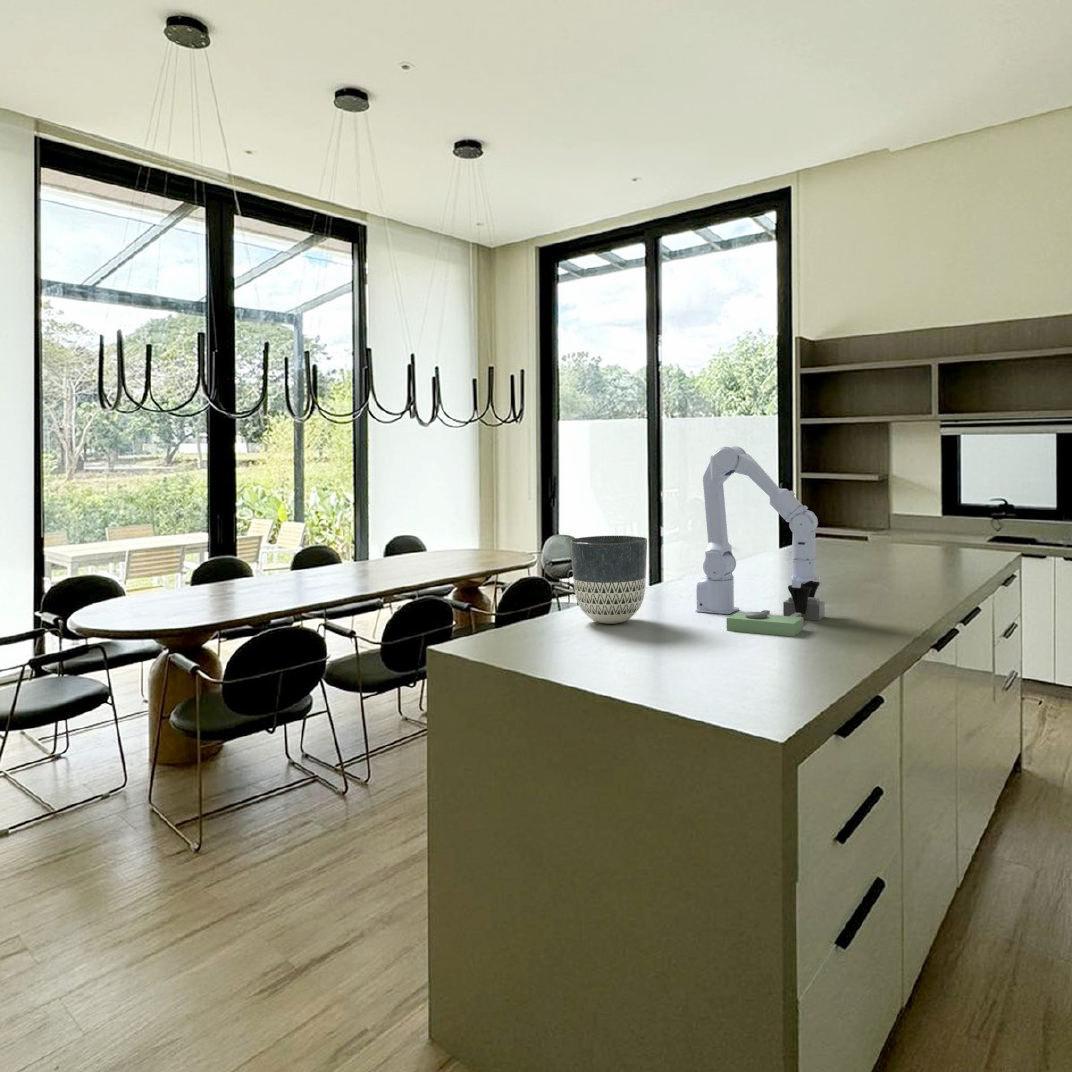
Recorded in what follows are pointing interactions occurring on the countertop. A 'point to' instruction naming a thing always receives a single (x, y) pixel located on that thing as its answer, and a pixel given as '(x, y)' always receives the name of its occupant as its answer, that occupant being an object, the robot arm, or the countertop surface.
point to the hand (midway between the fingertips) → (803, 611)
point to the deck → (766, 623)
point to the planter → (609, 576)
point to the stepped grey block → (812, 612)
